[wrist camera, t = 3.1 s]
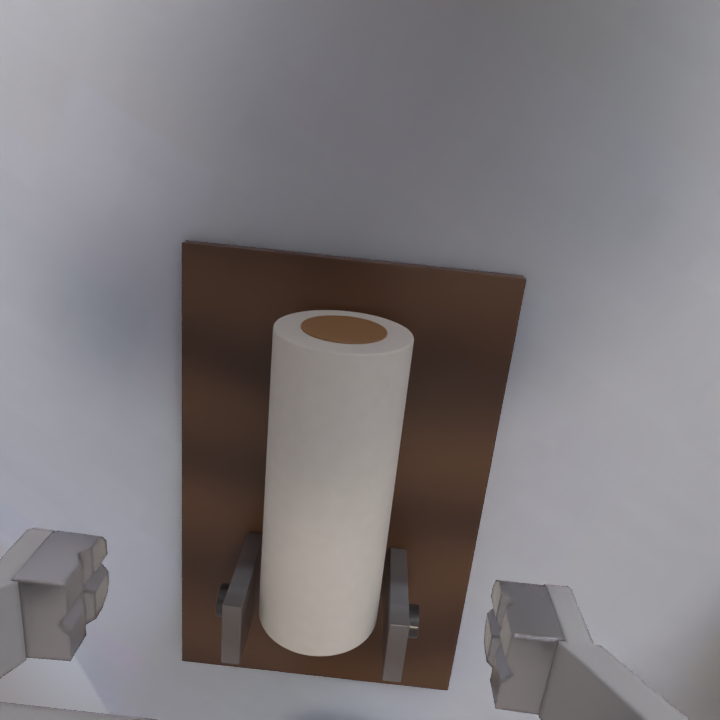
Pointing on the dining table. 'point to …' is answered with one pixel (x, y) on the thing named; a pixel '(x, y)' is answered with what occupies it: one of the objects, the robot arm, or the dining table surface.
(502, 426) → the dining table surface
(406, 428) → the holder
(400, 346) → the paper roll
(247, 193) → the dining table surface
